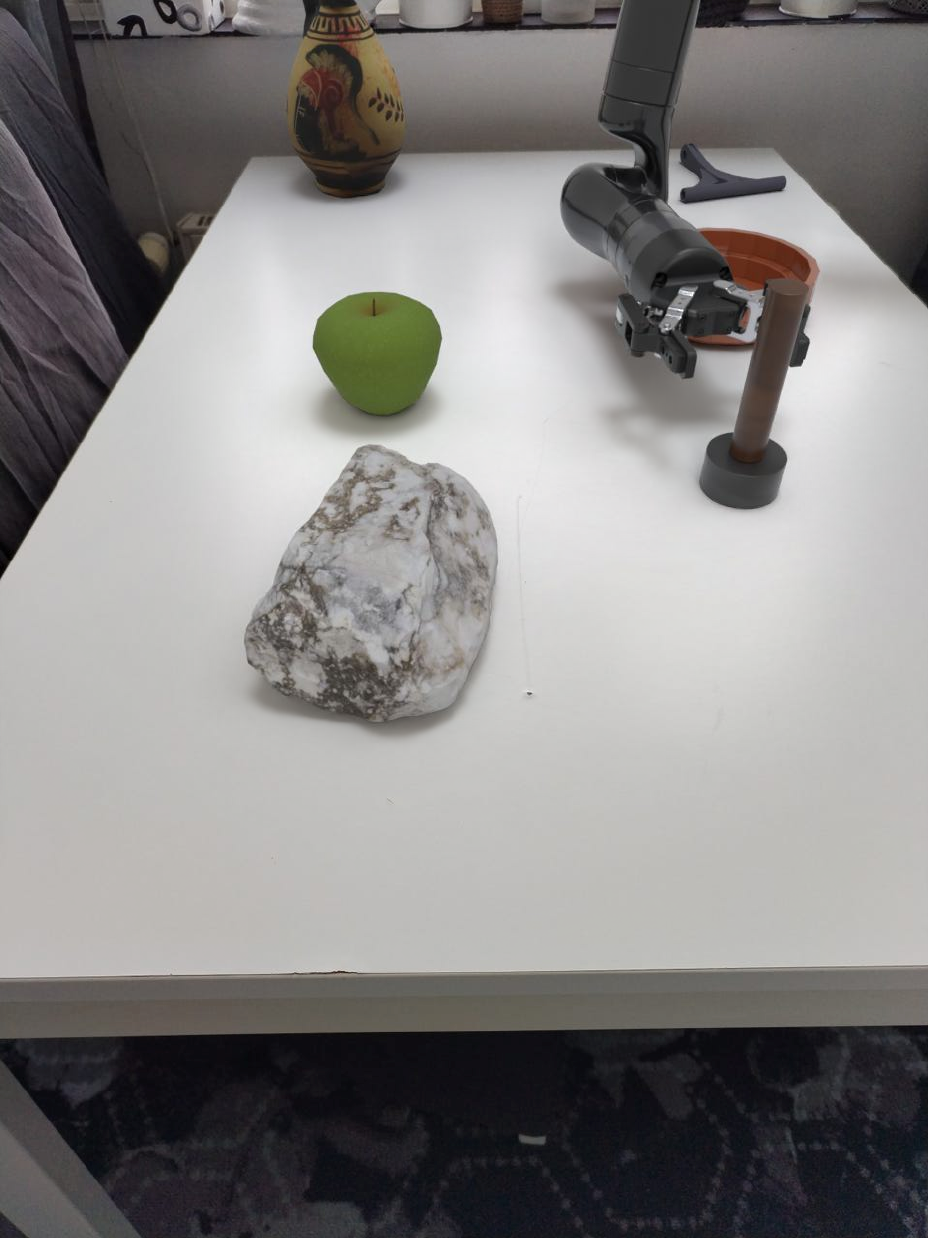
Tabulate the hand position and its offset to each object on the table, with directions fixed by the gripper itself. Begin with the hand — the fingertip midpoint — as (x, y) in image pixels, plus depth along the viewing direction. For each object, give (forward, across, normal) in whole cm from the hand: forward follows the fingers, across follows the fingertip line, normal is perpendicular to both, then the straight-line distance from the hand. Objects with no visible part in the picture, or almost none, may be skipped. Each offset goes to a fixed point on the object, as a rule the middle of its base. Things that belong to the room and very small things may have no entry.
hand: (746, 361), depth 63 cm
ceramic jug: (-73, -24, +9) cm, 77 cm away
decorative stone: (+12, -28, +9) cm, 32 cm away
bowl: (-26, +10, +9) cm, 29 cm away
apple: (-15, -26, +9) cm, 31 cm away
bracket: (-63, +24, +9) cm, 68 cm away
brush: (+3, 0, +9) cm, 9 cm away
